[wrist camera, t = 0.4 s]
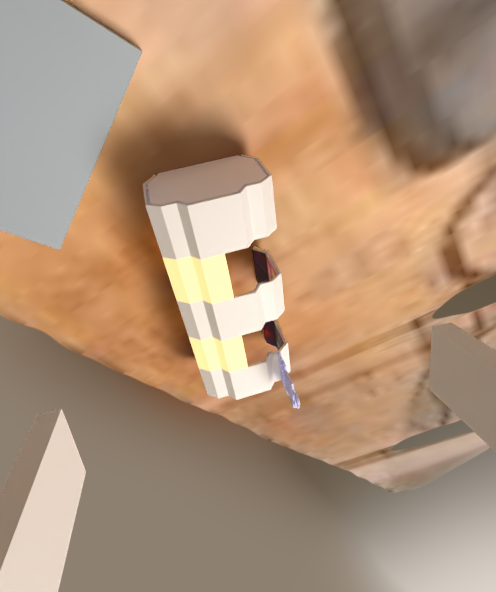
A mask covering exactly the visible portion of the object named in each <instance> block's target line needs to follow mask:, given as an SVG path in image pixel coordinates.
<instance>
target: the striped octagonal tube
mask: <svg viewBox="0 0 496 592" xmlns="http://www.w3.org/2000/svg"><path fill="white" fill-rule="evenodd" d="M143 192H144V200H145V206H146V209H147V212H148V215H149V218H150V221H151V224H152V227H153V230H154V233H155V236H156V239H157V242H158V246H159V249H160V252H161V255H162V258H163V261H164V264H165V267H166V270H167V273H168V276H169V279H170V282H171V285H172V288H173V291H174V294H175V297H176V300H177V303H178V306H179V309H180V312H181V315H182V318H183V321H184V324H185V327H186V330H187V334H188V337H189V340H190V343H191V346H192V349H193V352H194V355H195V358H196V361H197V364H198V367H199V370H200V373H201V376H202V379H203V382H204V385H205V388H206V391H207V394H208V395H210V396H213V397H216V398H222V397H225V396H228V395H229V396H231V397H232V398H234V399H236V400H238V399H241V398H244V397H248V396H251V395H254V394H258V393H261V392H264V391H268V390H271V388H272V386H273V383H274V382H276V381H279V380H282V382H283V385H284V388H285V390H286V392H287V395H289V397H290V400H291V403H292V406H293V408H297V409H298V408H300V401H299V398H298V396H297V393H296V392H295V391H294V383H293V381H292V379H291V378H290V376H289V374H288V373H289V372H290V360H289V350H288V342H287V340H286V338H285V336H284V333H283V331H282V329H281V327H280V325H279V323H278V321H277V319H278V317H279V316H280V315H281V314H282V313H283V312H284V311H285V308H284V298H283V288H282V277H281V272H280V270H279V268H278V266H277V265H276V263H275V261H274V259H273V257H272V256H271V254H270V252H269V251H268V250H265V249H262V248H258V247H256V245H255V246H254V247H253V248H252V249H253V256H254V263H255V270H256V276H257V282H258V284H257V286H256V288H255V289H254V291H250V292H249V293H246V294H242V295H239V296H235V297H234V296H233V291H232V286H231V281H230V277H229V272H228V267H227V262H226V257H225V254H226V253H229V252H233V251H237V250H241V249H245V248H249V246H250V245H251V244H252V242H253V241H254V240H257V239H260V238H264V237H268V236H269V235H270V234H271V233H272V232H273V231H274V230H276V229H277V225H276V215H275V204H274V194H273V184H272V175H271V173H270V172H269V171H268V170H267V168H266V167H265V166H264V164H263V163H262V162H261V161H260V159H259V158H258V157H252V156H246V155H243V154H241V156H239V155H236V156H232V157H227V158H223V159H218V160H214V161H210V162H205V163H201V164H197V165H192V166H188V167H184V168H179V169H175V170H170V171H166V172H162V173H157V176H156V175H155V174H153V176H152V177H151V178H150V179H148V180H147V181H146V182H145V183H143ZM263 326H264V331H265V337H266V342H267V343H269V344H271V345H273V346H274V347H277V349H278V350H277V351H274V352H268V354H267V357H266V358H265V360H263V361H261V362H258V363H255V364H251V365H247V360H246V355H245V350H244V345H243V340H242V335H246V334H249V333H253V332H256V331H260V330H262V328H263Z"/></svg>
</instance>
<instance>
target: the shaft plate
mask: <svg viewBox="0 0 496 592" xmlns="http://www.w3.org/2000/svg"><path fill="white" fill-rule="evenodd" d="M141 54H142V50H141V49H140V48H138V47H136V46H135V45H133V44H132V43H130V42H129V41H127V40H125V39H124V38H122V37H121V36H119V35H118V34H116V33H114V32H113V31H111V30H110V29H108V28H107V27H105V26H103V25H102V24H100V23H99V22H97V21H96V20H94V19H93V18H91V17H89V16H88V15H86V14H85V13H83V12H82V11H80V10H78V9H77V8H75V7H74V6H72V5H71V4H69V3H67V2H66V1H64V0H0V230H1V231H4V232H7V233H10V234H13V235H16V236H19V237H22V238H25V239H28V240H31V241H34V242H37V243H40V244H43V245H46V246H49V247H52V248H55V249H58V250H60V248H61V246H62V243H63V241H64V238H65V236H66V234H67V231H68V229H69V226H70V224H71V222H72V219H73V217H74V214H75V212H76V210H77V207H78V205H79V202H80V200H81V198H82V195H83V193H84V190H85V188H86V186H87V183H88V181H89V178H90V176H91V174H92V171H93V169H94V166H95V164H96V162H97V159H98V157H99V154H100V152H101V150H102V147H103V145H104V142H105V140H106V138H107V135H108V133H109V130H110V128H111V126H112V123H113V121H114V118H115V116H116V114H117V111H118V109H119V106H120V104H121V102H122V99H123V97H124V94H125V92H126V90H127V87H128V85H129V82H130V80H131V78H132V75H133V73H134V70H135V68H136V66H137V63H138V61H139V58H140V56H141Z"/></svg>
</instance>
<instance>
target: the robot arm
mask: <svg viewBox="0 0 496 592" xmlns="http://www.w3.org/2000/svg"><path fill="white" fill-rule="evenodd" d="M429 389H430V390H431V391H432V392H433V393H434V394H435V395H436V396H437V397H438V398H439V399H440V400H441V401H442V402H443V403H444V404H445V405H446V406H448V407H449V408H450V409H451V410H452V411H453V412H454V413H455V414H456V415H457V416H458V417H459V418H460V419H461V420H462V421H464V422H465V423H466V424H467V425H468V426H469V427H470V428H471V429H472V430H473V431H474V432H475V433H476V434H477V435H478V436H479V437H480V438H482V439H483V440H484V441H485V442H486V443H487V444H488V445H489V446H490V447H491V448H492V449H493V450H494V451H495V452H496V351H495V350H493V349H492V348H490V347H489V346H487V345H486V344H484V343H483V342H481V341H479V340H478V339H476V338H475V337H473V336H472V335H470V334H468V333H467V332H465V331H464V330H462V329H461V328H459V327H457V326H456V325H454V324H453V323H447V324H442V325H438V326H433V327H432V340H431V358H430V375H429ZM85 473H86V471H85V468H84V466H83V463H82V461H81V458H80V455H79V453H78V450H77V447H76V445H75V442H74V440H73V437H72V434H71V432H70V429H69V426H68V424H67V421H66V419H65V416H64V414H63V411H62V409H57V410H52V411H48V412H44V413H39V414H37V415H36V417H35V419H34V421H33V423H32V426H31V428H30V430H29V432H28V434H27V437H26V439H25V441H24V443H23V445H22V447H21V450H20V452H19V454H18V456H17V458H16V460H15V463H14V465H13V467H12V469H11V471H10V474H9V476H8V478H7V480H6V482H5V484H4V486H3V489H2V491H1V493H0V592H58V589H59V585H60V581H61V576H62V572H63V567H64V564H65V559H66V555H67V550H68V546H69V541H70V538H71V534H72V529H73V524H74V520H75V516H76V512H77V508H78V504H79V499H80V495H81V490H82V486H83V482H84V478H85Z"/></svg>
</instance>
